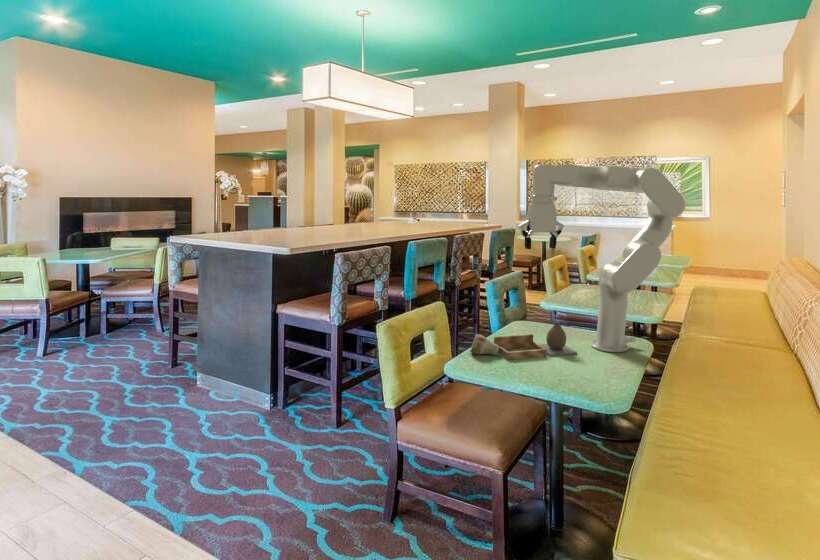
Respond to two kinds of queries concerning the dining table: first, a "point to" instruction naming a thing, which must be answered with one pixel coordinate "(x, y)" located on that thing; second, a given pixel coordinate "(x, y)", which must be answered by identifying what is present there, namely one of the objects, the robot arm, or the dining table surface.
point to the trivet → (558, 351)
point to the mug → (483, 346)
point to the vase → (556, 337)
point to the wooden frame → (519, 347)
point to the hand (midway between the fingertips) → (540, 248)
